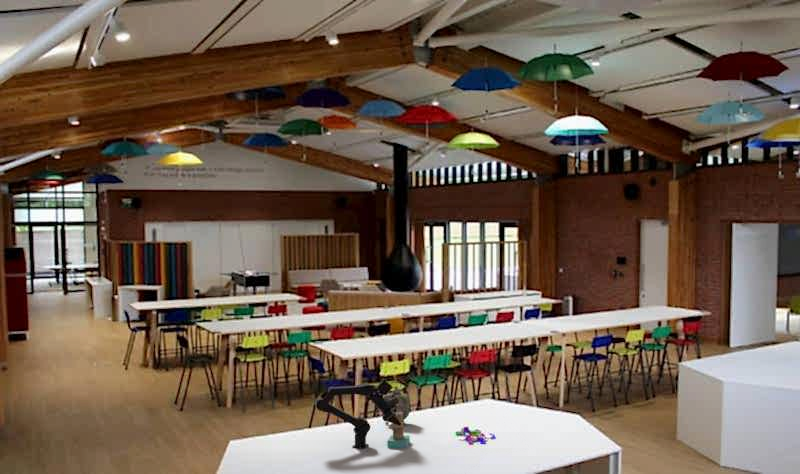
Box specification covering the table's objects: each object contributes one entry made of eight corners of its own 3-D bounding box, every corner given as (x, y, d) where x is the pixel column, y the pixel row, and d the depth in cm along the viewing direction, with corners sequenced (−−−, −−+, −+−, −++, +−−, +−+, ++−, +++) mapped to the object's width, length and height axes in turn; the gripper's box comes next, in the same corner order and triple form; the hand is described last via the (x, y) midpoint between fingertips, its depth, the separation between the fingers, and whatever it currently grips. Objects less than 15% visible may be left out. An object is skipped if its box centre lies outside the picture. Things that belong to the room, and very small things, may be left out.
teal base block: (406, 449, 352) (406, 441, 352) (387, 448, 353) (387, 440, 353) (409, 443, 361) (409, 435, 361) (391, 442, 363) (391, 435, 363)
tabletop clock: (382, 425, 394) (382, 382, 393) (387, 421, 402) (386, 379, 402) (406, 427, 389) (406, 383, 389) (411, 422, 398) (410, 380, 398)
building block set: (498, 444, 357) (498, 436, 357) (460, 445, 356) (460, 437, 356) (489, 430, 382) (489, 422, 382) (453, 431, 381) (453, 423, 381)
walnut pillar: (402, 439, 355) (401, 414, 355) (393, 439, 355) (392, 414, 355) (403, 436, 360) (402, 412, 360) (394, 436, 360) (393, 412, 360)
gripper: (388, 395, 348) (410, 417, 347) (392, 386, 367) (412, 407, 366) (373, 410, 349) (395, 432, 348) (377, 401, 368) (398, 421, 367)
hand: (400, 422), depth 357 cm, fingers open, 7 cm apart
